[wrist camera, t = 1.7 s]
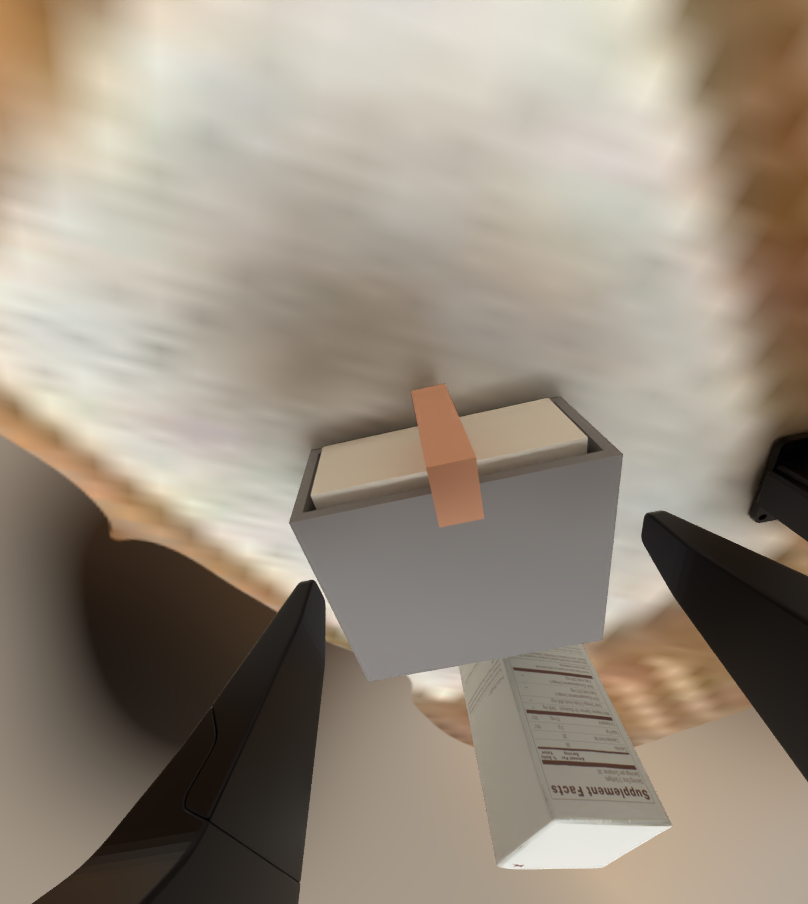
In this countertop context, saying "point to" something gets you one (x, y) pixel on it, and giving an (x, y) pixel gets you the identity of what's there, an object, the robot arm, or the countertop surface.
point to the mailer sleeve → (469, 564)
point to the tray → (405, 455)
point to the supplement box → (556, 763)
